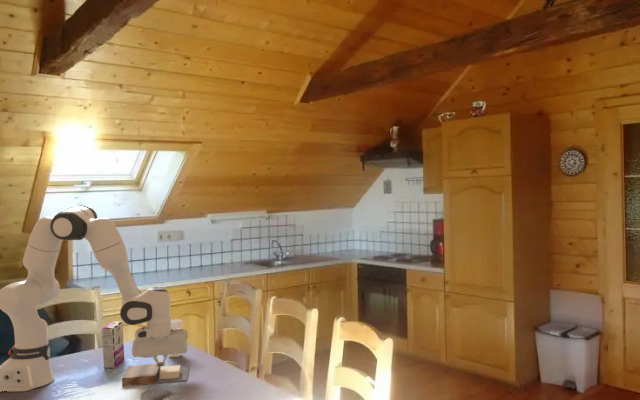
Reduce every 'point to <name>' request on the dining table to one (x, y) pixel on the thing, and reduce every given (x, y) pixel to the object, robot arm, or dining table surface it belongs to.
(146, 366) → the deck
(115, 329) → the candy bar box
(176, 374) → the tile
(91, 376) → the dining table surface
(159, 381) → the mat
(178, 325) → the white tapered cup
